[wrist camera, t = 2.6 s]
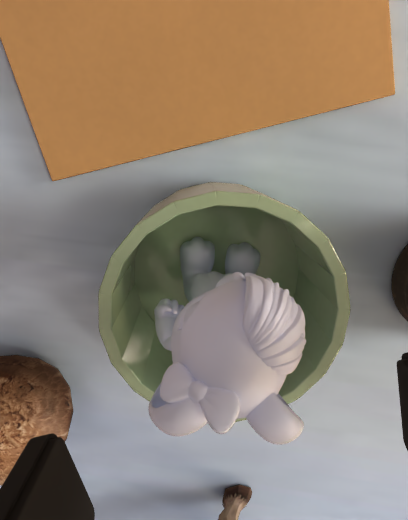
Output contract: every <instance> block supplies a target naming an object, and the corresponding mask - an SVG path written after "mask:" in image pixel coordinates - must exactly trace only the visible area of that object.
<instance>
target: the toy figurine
mask: <svg viewBox="0 0 408 520" xmlns="http://www.w3.org/2000/svg"><path fill="white" fill-rule="evenodd" d="M260 258H261V257H260V253H259V251H258V250H257V249H254V248H253V247H252V246H251V245H250V244H249V243H247V242H243V243H241V244H239V245H238V244H231V245H230V246H229V247H228V249H227V253H226V258H225V274H221V273H219V272H216V271H212V272H211V270H212V268H213V265H214V260H215V248H214V244H213V243H212V242H211V241H208V240H207V241H204V240H203V239H202V238H201V237H194V238H193V239H192V240H191V241H186V242H184V243H183V244H182V245H181V247H180V264H181V272H182V278H183V288H184V293H185V296H186V298H187V300H188V301H189V303H187V305H186V306H185V307H184V306H183V305H178V302H177V300H171V301H170V299H167V298H165V299H161V300H160V301H159V303H158V305H157V306H156V308H155V309H154V315H155V327H156V333H157V336H158V339H159V341H160V343H161V344H162V346H163V347H164V348H165V349H167V350H169V351H172V361H173V364H172V365H171V366H169V367H168V369H167V370H166V372H165V374H164V376H163V378H162V382H161V383H160V385H159V386H158V387H157V389H156V391H155V393H154V394H153V396H152V398H151V400H150V403H149V414H150V417H151V419H152V421H153V423H154V424H155V425H156V426H157V427H158V428H159V429H160V430H161V431H163V432H164V433H166V434H168V435H172V436H184V435H188V434H191V433H193V432H195V431H197V430H199V429H200V428H202V427H203V426H204V425H206V424H207V423H208V424H209V425H210V427H211V428H212V429H213V430H214V431H215V432H217V433H219V434H224V433H226V432H228V431H229V430H230V428H231V427H232V426H233V424H234V423H235V421H236V419H241V418H247V420H248V422H249V424H250V425H251V426H252V428H253V429H254V430H255V431H256V432H257V433H258V434H259V435H260V436H261V437H262V438H264V439H265V440H266V441H268V442H270V443H273V444H286V443H289V442H291V441H293V440H294V439H296V438H297V437H298V436H299V435H300V433H301V432H302V430H303V426H304V424H303V421H302V420H301V419H300V418H299V417H298V416H297V415H296V414H295V413H294V412H293V411H292V409H291V408H290V407H289V406H288V404H287V403H286V402H285V401H284V399H283V398H282V397H281V396H280V394H279V391H280V389H281V387H282V385H283V383H284V381H285V378H286V376H287V374H290V373H292V372H293V371H294V370H295V369H296V367H297V365H298V364H299V362H300V359H301V357H302V351H303V349H304V345H305V344H306V339H305V317H304V313H303V311H302V309H301V307H300V305H298V304H296V302H295V300H294V298H293V297H291V296H290V295H289V290H288V289H284V290H283V289H282V288H280V287H279V283H278V282H276V283H273V282H272V280H271V279H270V278H266V279H265V278H263V277H261V276H258V275H256V272H257V269H258V267H259V264H260Z"/></svg>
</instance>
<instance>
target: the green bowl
mask: <svg viewBox="0 0 408 520" xmlns="http://www.w3.org/2000/svg"><path fill="white" fill-rule="evenodd" d="M194 237H201V238H202V239H203V240H204V241H207V240H208V241H211V242H212V243H213V244H214V248H215V260H214V265H213V268H212V270H211V272H212V271H216V272H219V273H221V274H225V258H226V253H227V249H228V247H229V246H230V245H231V244H238V245H239V244H241V243H243V242H247V243H249V244H250V245H251V246H252V247H253V248H254V249H257V250H258V251H259V253H260V257H261V258H260V264H259V267H258V269H257V272H256V275H258V276H261V277H263V278H265V279H266V278H270V279H271V280H272V282H273V283H276V282H278V283H279V287H280V288H282V289H283V290H284V289H288V290H289V295H290V296H291V297H293V298H294V300H295V302H296V304H298V305H300V307H301V309H302V311H303V313H304V317H305V339H306V344H305V345H304V349H303V351H302V357H301V359H300V362H299V364H298V365H297V367H296V369H295V370H294V371H293V372H292V373H290V374H287V376H286V378H285V381H284V383H283V385H282V387H281V389H280V391H279V394H280V396H281V397H282V398H283V399H284V401H285V402H286V403H287V404H289V403H291V402H293V401H295V400H297V399H298V398H300V397H301V396H302V395H303V394H304V393H305V392H306V391H308V390H309V389H310V388H311V387H312V386H313V385H314V384H315V383H316V382H317V381H318V380H319V379H321V378H322V377H323V376H324V374H326V372H327V370H328V369H329V367H330V365H331V364H332V362H333V360H334V358H335V357H336V355H337V353H338V352H339V350H340V348H341V347H342V345H343V344H342V343H343V342H344V337H345V332H346V328H347V323H348V319H349V314H350V299H349V291H348V283H347V275H346V272H345V269H344V267H343V265H342V263H341V261H340V259H339V257H338V255H337V253H336V251H335V250H334V248H333V246H332V244H331V242H330V240H329V239H328V237H327V236H326V235H325V234H324V233H323V232H322V231H320V230H319V229H318V228H317V227H316V226H315V225H314V224H313V223H312V222H311V221H310V220H308V219H307V218H306V217H305V216H304V215H303V214H302V213H301V212H300V211H298V210H296V209H294V208H292V207H290V206H288V205H286V204H284V203H282V202H280V201H278V200H276V199H273V198H271V197H269V196H267V195H265V194H263V193H260V192H258V191H256V190H253V189H251V188H249V187H246V186H244V185H240V184H231V183H218V182H208V183H204V184H199V185H194V186H191V187H187V188H183V189H180V190H178V191H176V192H175V193H173V194H172V195H170V196H169V197H167V198H165V199H164V200H162V201H161V202H159V203H158V204H156V205H155V206H153V207H152V209H151V210H150V211H149V212H148V213H147V214H146V215H145V216H144V217H143V218H142V219H141V220H140V221H139V222H138V224H137V225H136V226H135V227H134V228H133V229H132V231H131V232H130V233H129V234H128V236H127V237H126V238H125V239H124V241H123V242H122V243H121V244H120V246H119V247H118V248H117V249H116V251H115V252H114V253H113V254H112V256H111V258H110V261H109V263H108V266H107V269H106V272H105V275H104V278H103V281H102V284H101V286H100V289H99V294H98V301H99V331H100V334H101V337H102V340H103V342H104V345H105V348H106V350H107V353H108V356H109V359H110V361H111V363H112V365H113V366H114V367H115V368H116V370H117V371H118V372H119V373H120V375H121V376H122V377H123V378H124V380H125V381H126V382H127V383H128V385H129V386H130V387H131V388H132V389H133V390H134V391H135V392H136V393H138V394H139V395H141V396H142V397H144V398H145V399H147V400H148V401H150V400H151V398H152V396H153V394H154V393H155V391H156V389H157V387H158V386H159V385H160V383H161V382H162V378H163V376H164V374H165V372H166V370H167V369H168V367H169V366H171V365H172V364H173V361H172V351H169V350H167V349H165V348H164V347H163V346H162V344H161V343H160V341H159V339H158V336H157V333H156V327H155V315H154V309H155V308H156V306H157V305H158V303H159V301H160V300H161V299H165V298H167V299H170V301H171V300H177V302H178V305H183V306H184V307H185V306H186V305H187V303H189V301H188V300H187V298H186V296H185V293H184V288H183V278H182V272H181V264H180V247H181V245H182V244H183V243H184V242H186V241H191V240H192V239H193V238H194ZM242 420H247V418H241V419H236V421H235V422H237V421H242Z"/></svg>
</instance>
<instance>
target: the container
mask: <svg viewBox="0 0 408 520" xmlns="http://www.w3.org/2000/svg"><path fill="white" fill-rule="evenodd" d="M392 294H393V298H394V301H395V304H396V306H397V308H398V310H399V312H400V313H401V314H402V316H403V317H404V318H405V319H406V320H407V321H408V245H407V246H406V247H405V248H404V250H403V251H402V253H401V254H400V256H399V258H398V260H397V262H396V265H395V268H394V271H393V276H392Z"/></svg>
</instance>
